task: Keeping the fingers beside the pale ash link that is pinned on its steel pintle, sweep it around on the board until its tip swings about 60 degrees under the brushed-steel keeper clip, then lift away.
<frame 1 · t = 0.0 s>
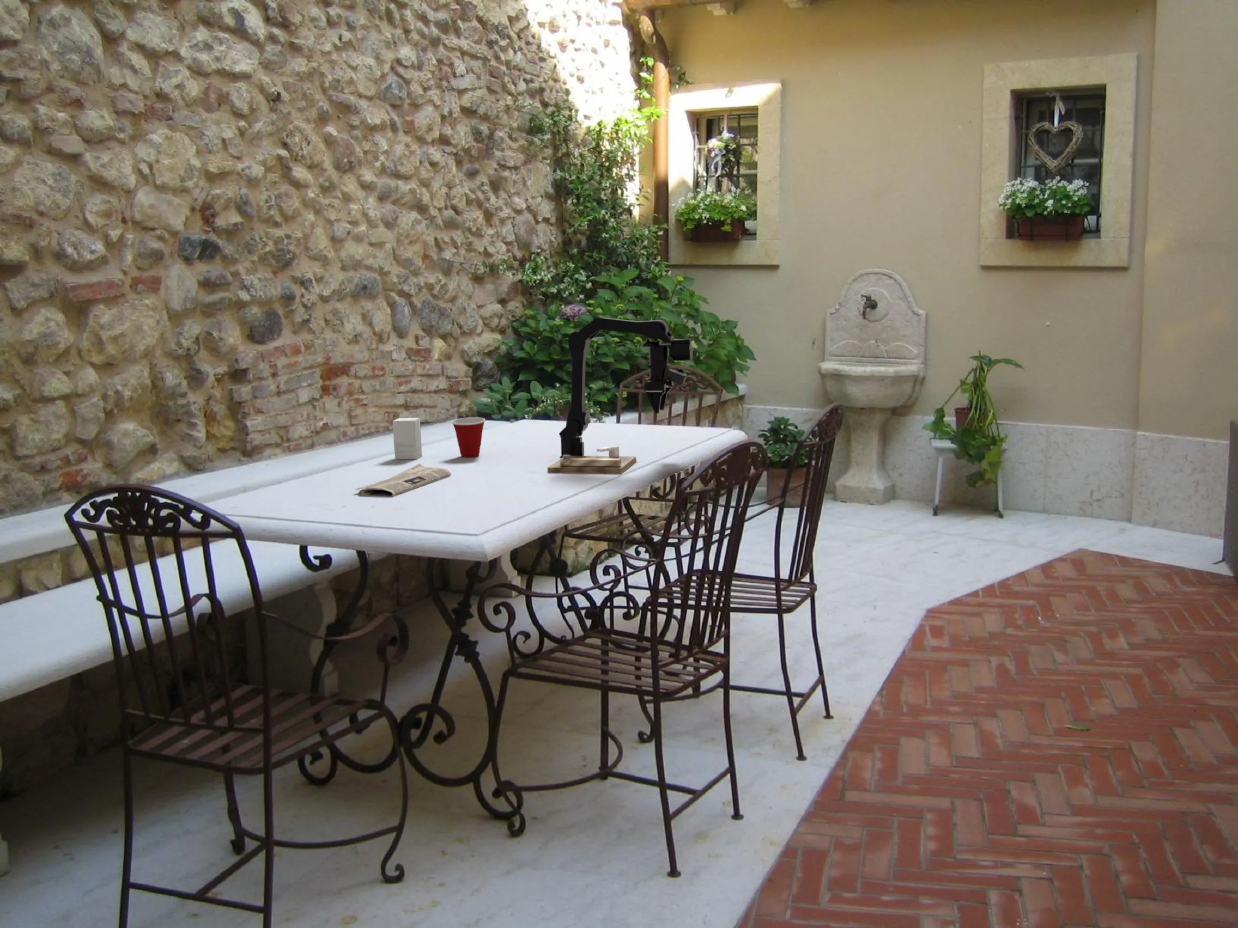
hand: (659, 411, 365), 15 cm above the table, fingers open, 9 cm apart
supplement box: (408, 458, 379), on the table
board: (593, 466, 354), on the table
newspaper: (404, 487, 329), on the table
link: (589, 460, 345), point 3 cm above the table, hinge at 0.0°
keeper: (605, 463, 359), resting on board
plastic cup: (469, 456, 380), on the table
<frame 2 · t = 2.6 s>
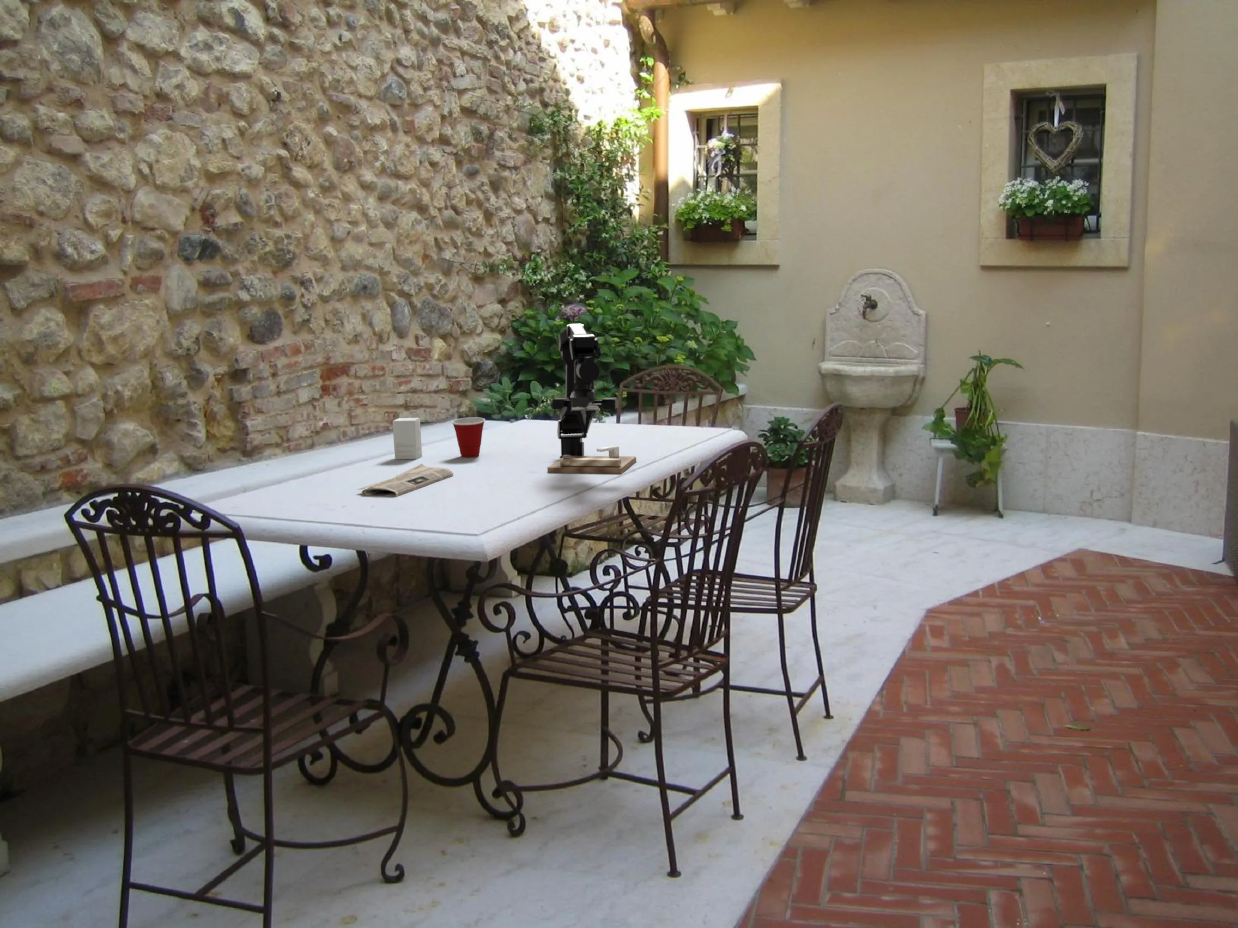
hand: (585, 433, 337), 12 cm above the table, fingers closed
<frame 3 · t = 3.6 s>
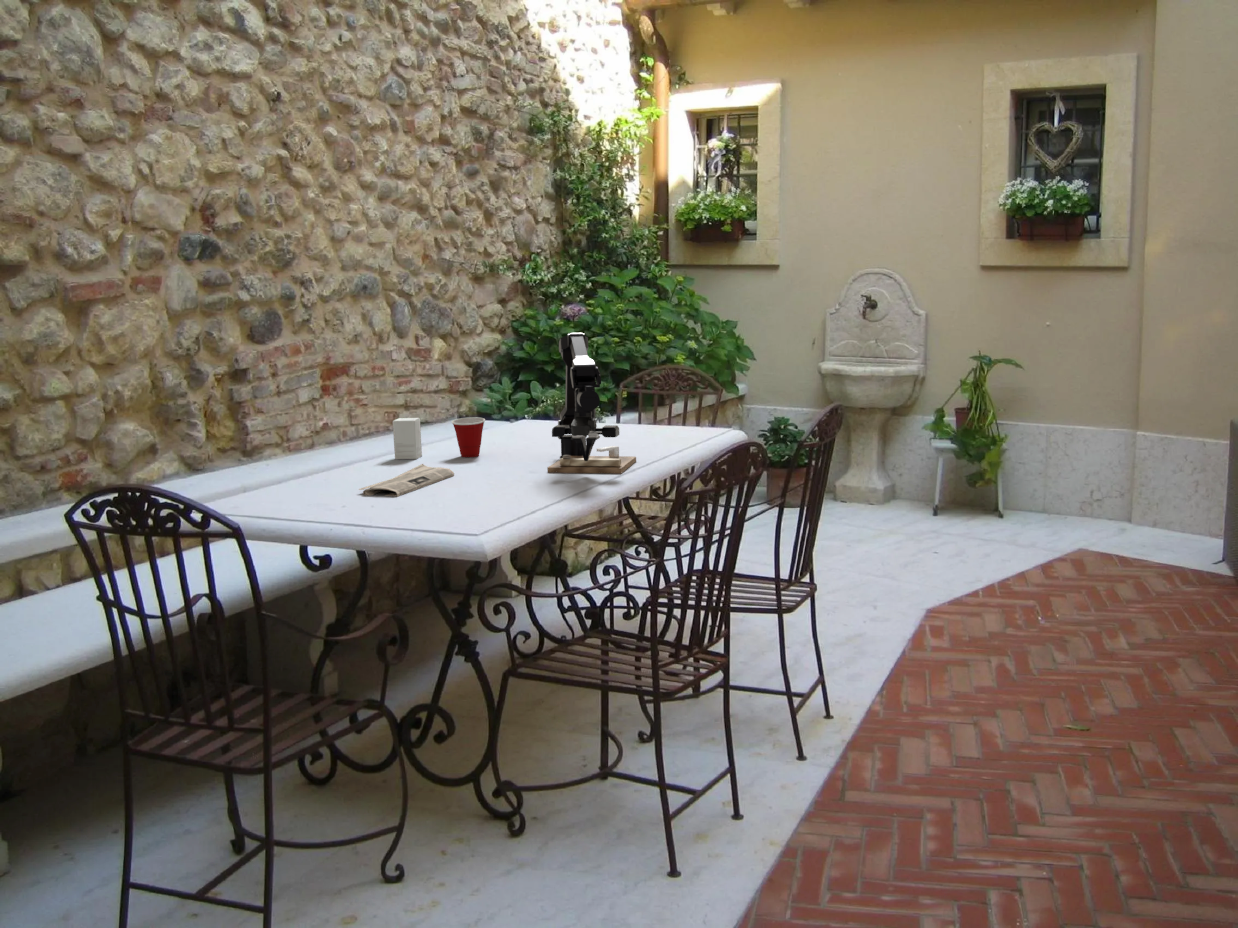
hand: (586, 461, 339), 4 cm above the table, fingers closed
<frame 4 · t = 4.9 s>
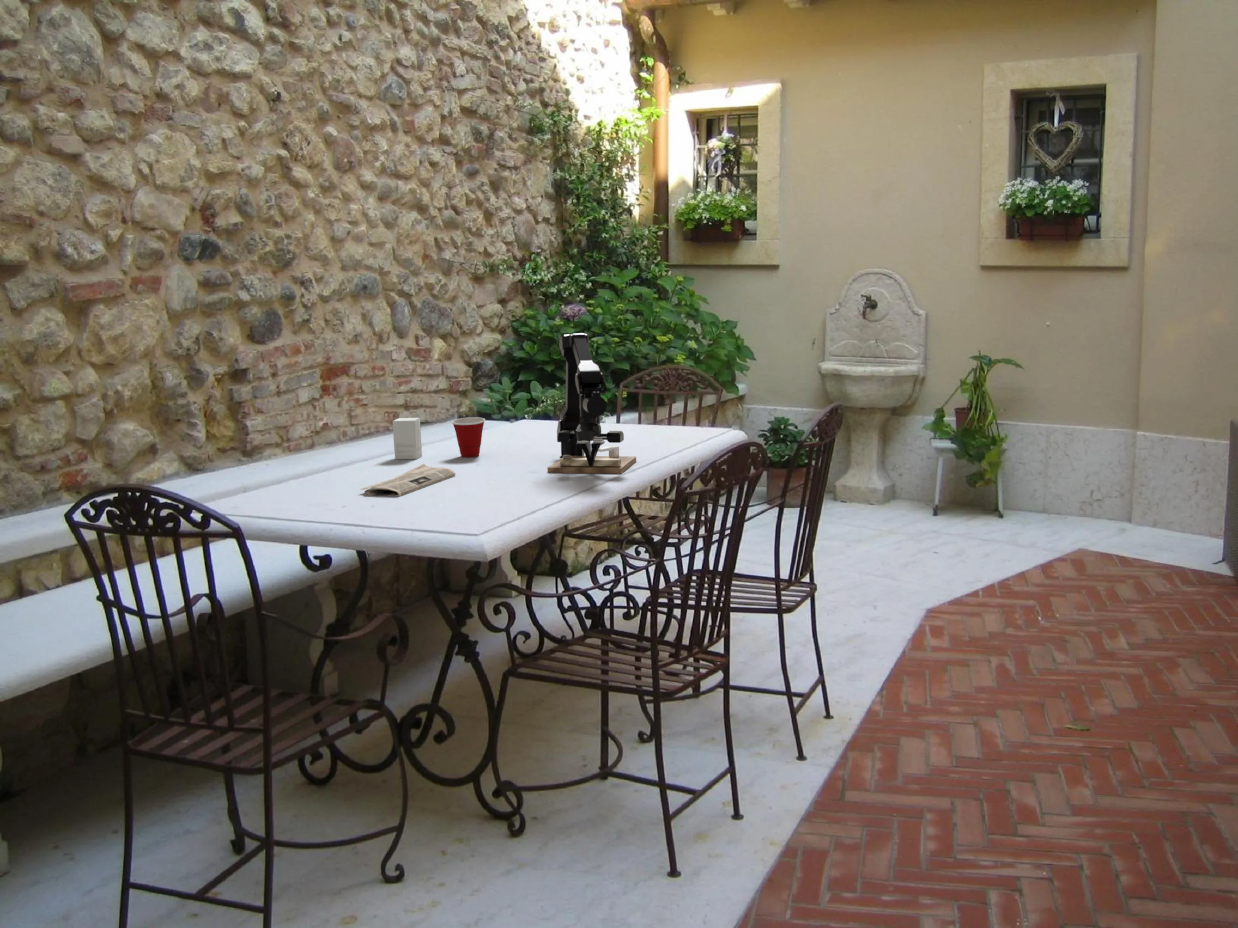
hand: (591, 465, 343), 2 cm above the table, fingers closed, pressing on link
link: (589, 460, 345), point 3 cm above the table, hinge at 0.0°, touching gripper
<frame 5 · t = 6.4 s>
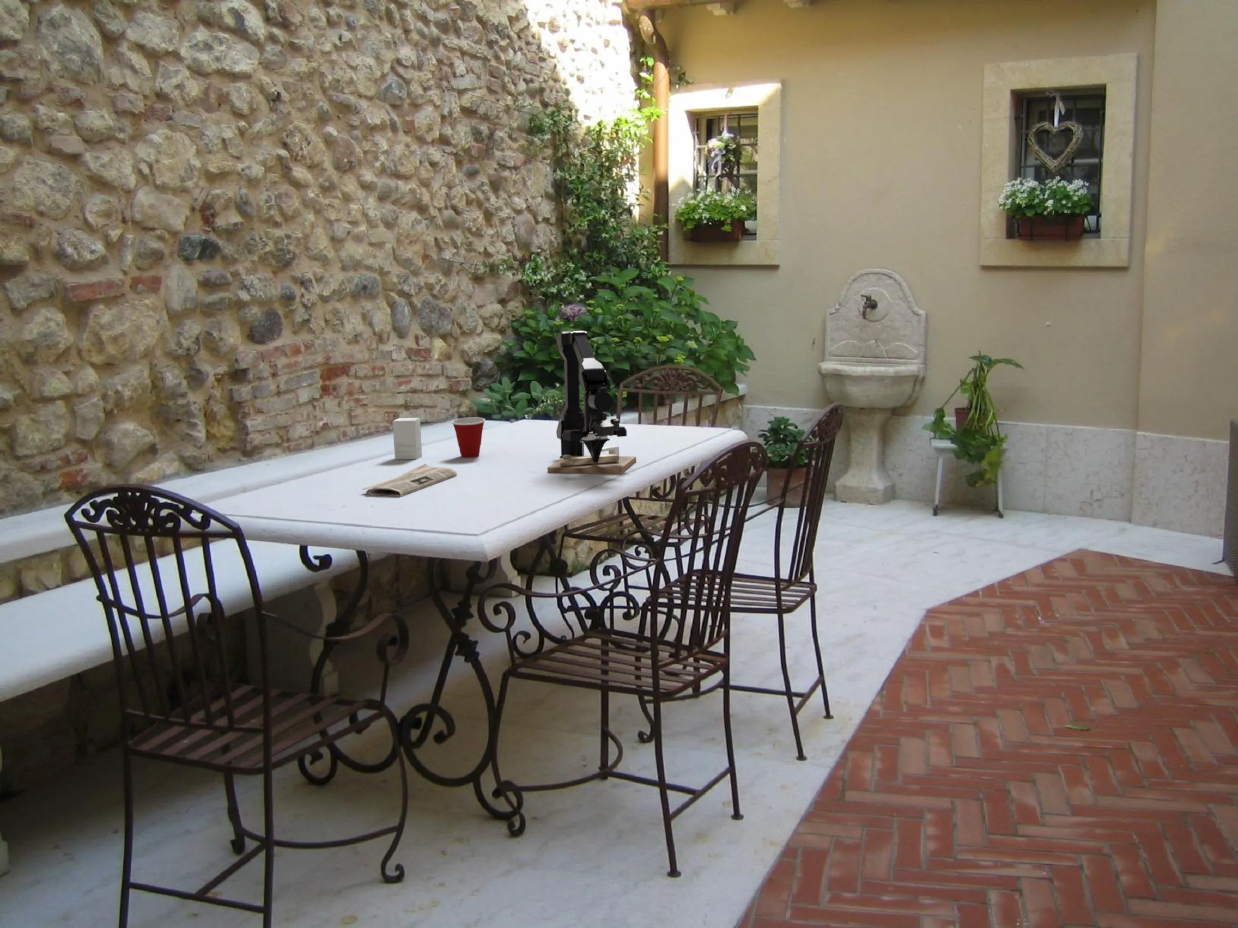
hand: (595, 462, 347), 2 cm above the table, fingers closed
link: (589, 458, 349), point 3 cm above the table, hinge at 33.8°, touching gripper
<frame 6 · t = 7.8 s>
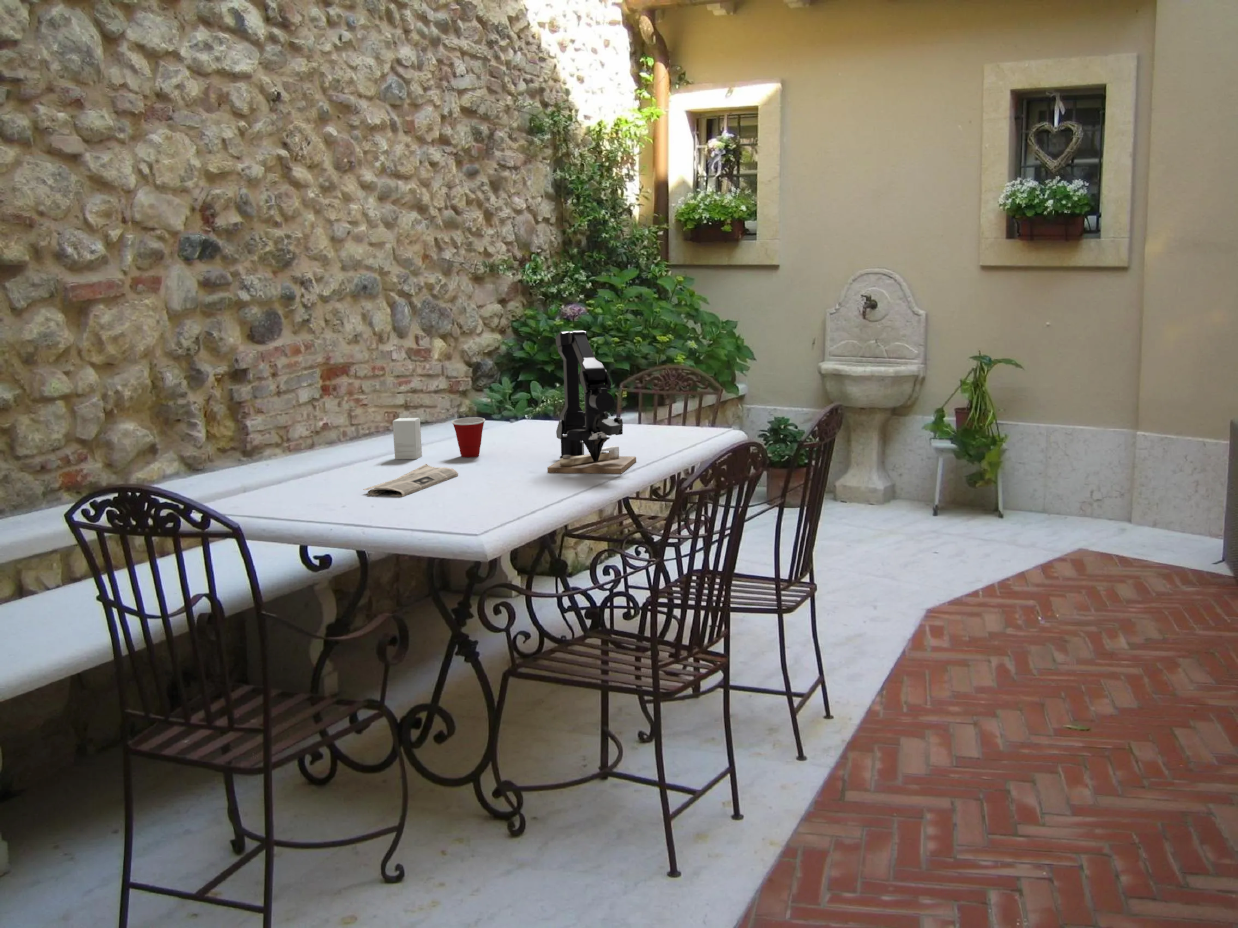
hand: (595, 461, 350), 2 cm above the table, fingers closed
link: (584, 457, 352), point 3 cm above the table, hinge at 56.6°
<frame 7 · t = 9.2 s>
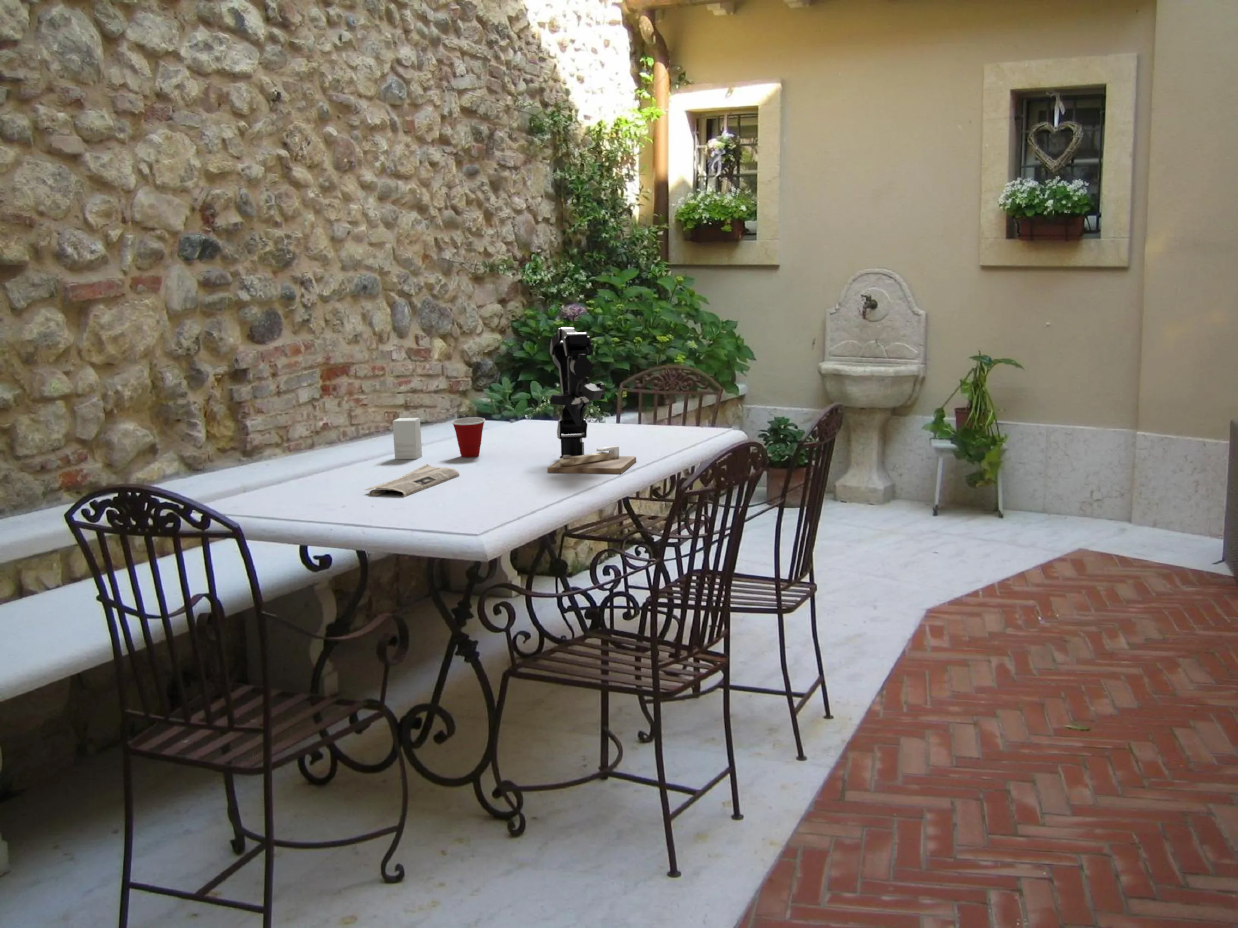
hand: (578, 425, 359), 12 cm above the table, fingers closed
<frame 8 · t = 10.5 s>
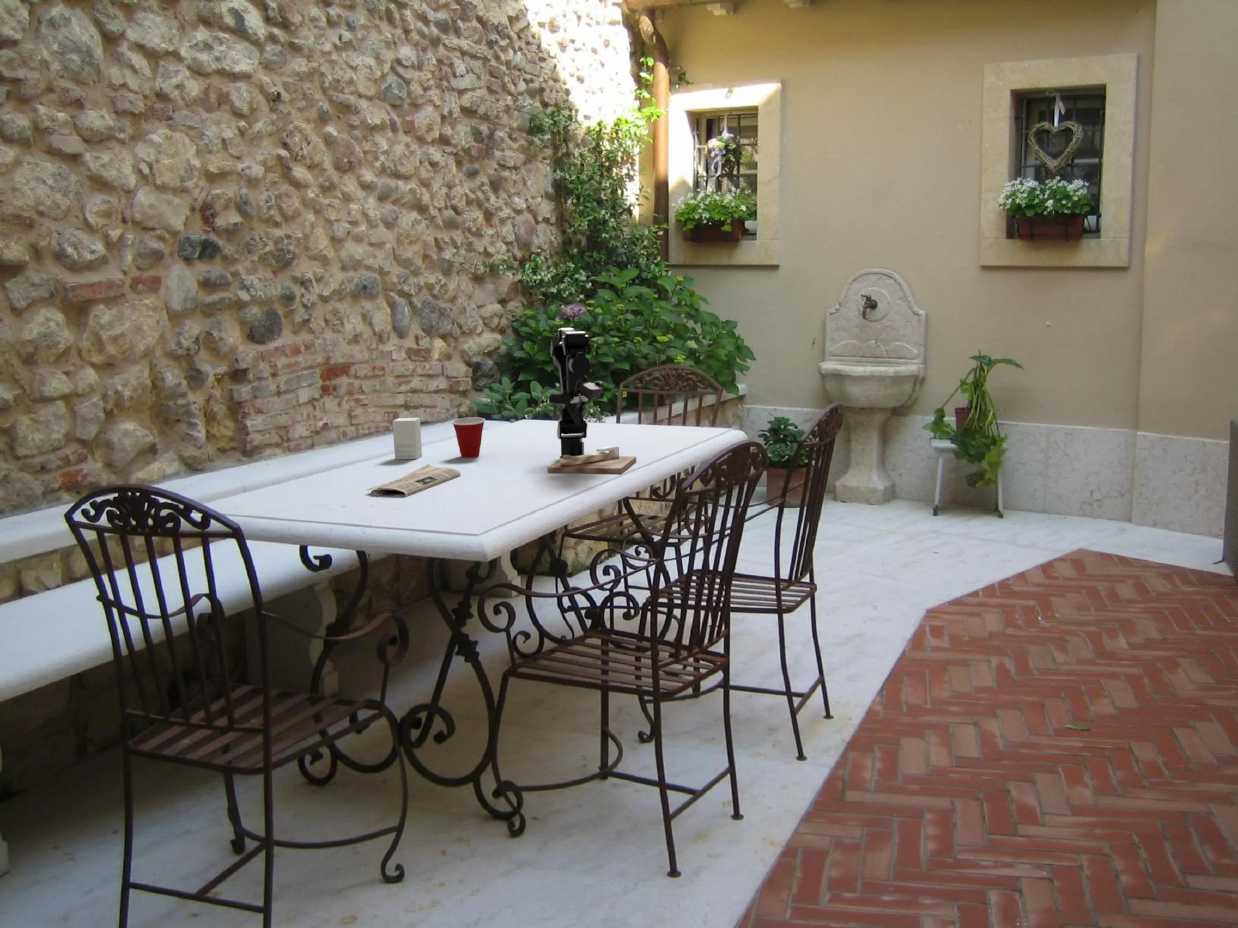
hand: (577, 424, 359), 12 cm above the table, fingers closed
at the end: link at +57° (first picture: +0°) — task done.
